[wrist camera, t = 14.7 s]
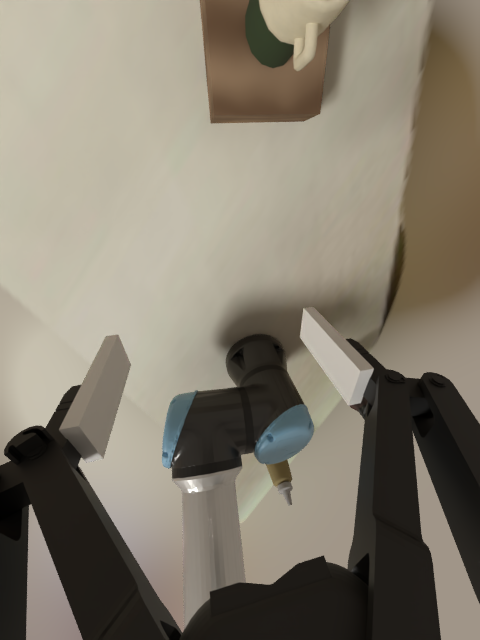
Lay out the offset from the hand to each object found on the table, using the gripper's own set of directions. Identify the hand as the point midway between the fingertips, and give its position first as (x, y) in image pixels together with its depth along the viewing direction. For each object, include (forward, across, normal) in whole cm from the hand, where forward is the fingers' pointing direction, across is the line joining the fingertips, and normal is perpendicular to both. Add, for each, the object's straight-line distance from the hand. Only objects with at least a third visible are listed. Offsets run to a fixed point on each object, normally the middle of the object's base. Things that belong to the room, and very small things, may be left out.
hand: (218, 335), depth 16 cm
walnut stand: (+28, -11, -23) cm, 38 cm away
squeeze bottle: (+29, -16, +75) cm, 82 cm away
